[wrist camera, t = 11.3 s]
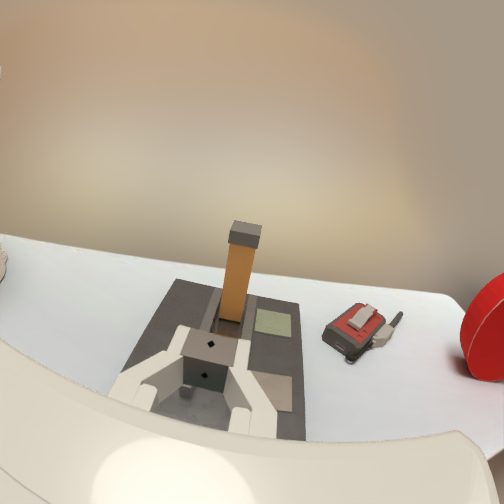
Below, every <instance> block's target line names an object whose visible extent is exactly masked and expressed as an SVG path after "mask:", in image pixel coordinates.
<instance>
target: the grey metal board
mask: <svg viewBox="0 0 504 504" xmlns="http://www.w3.org/2000/svg"><path fill="white" fill-rule="evenodd" d="M222 292H223V289H221V288H216V287H212V286H207V285H203V284H198V283H194V282H189V281H185V280H181V279H176V280H175V281H174V283H173V284H172V286H171V288H170V289H169V291H168V292H167V294H166V296H165V297H164V299H163V301H162V302H161V304H160V305H159V307H158V309H157V310H156V312H155V314H154V315H153V317H152V319H151V321H150V322H149V324H148V326H147V327H146V329H145V331H144V332H143V334H142V336H141V338H140V339H139V341H138V343H137V344H136V346H135V348H134V350H133V351H132V353H131V355H130V357H129V359H128V360H127V362H126V364H125V366H124V368H123V369H122V371H121V373H122V372H124V371H125V370H127V369H129V368H131V367H133V366H135V365H137V364H139V363H141V362H143V361H144V360H146V359H148V358H150V357H152V356H154V355H156V354H157V353H159V352H161V351H167V349H168V347H169V345H170V342H171V340H172V338H173V336H174V334H175V331H176V329H177V327H178V326H179V325H183V326H186V327H190V328H195V329H198V330H202V331H206V332H210V333H214V334H219V335H224V336H229V337H234V338H238V339H244V340H250V341H251V345H250V353H249V360H248V367H247V370H249V371H251V372H252V374H253V376H254V377H255V379H256V380H257V382H258V383H259V385H260V387H261V388H262V390H263V391H264V393H265V394H266V396H267V398H268V399H269V401H270V402H271V404H272V405H273V407H274V408H275V410H276V411H277V431H276V439H284V440H296V441H306V430H305V397H304V375H303V356H302V340H301V325H300V311H299V304H297V303H292V302H286V301H281V300H276V299H271V298H265V297H260V296H255V295H250V294H246V298H245V303H244V308H243V313H242V318H241V322H237V321H232V320H227V319H223V318H219V312H220V305H221V299H222ZM159 407H160V414H161V415H162V416H165V417H169V418H172V419H176V420H180V421H183V422H187V423H191V424H195V425H199V426H204V427H208V428H213V429H217V430H222V431H226V429H227V426H228V423H229V419H230V416H231V411H230V409H229V407H228V405H227V402H226V400H225V398H224V395H223V393H219V392H215V391H211V390H207V389H203V388H199V387H194V386H190V385H186V384H183V385H182V386H181V387H180V388H178V389H177V390H176V391H175V392H173V393H172V394H171V395H169V396H168V397H167V398H165V399H164V400H163V401H162V402H160V403H159Z"/></svg>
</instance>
